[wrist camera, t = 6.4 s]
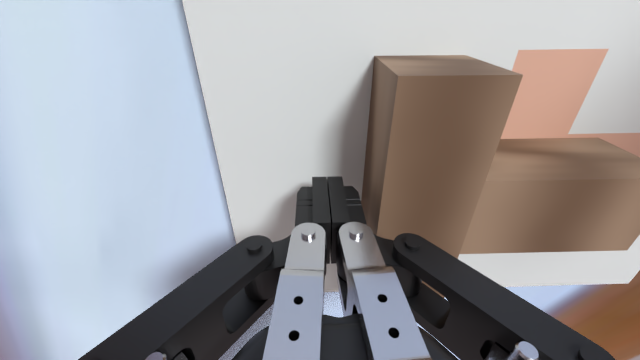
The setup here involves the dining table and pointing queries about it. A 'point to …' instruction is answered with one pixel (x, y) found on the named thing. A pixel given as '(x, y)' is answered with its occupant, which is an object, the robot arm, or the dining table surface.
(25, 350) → the dining table surface
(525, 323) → the robot arm
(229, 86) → the board
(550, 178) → the tee block
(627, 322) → the dining table surface
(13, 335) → the dining table surface
